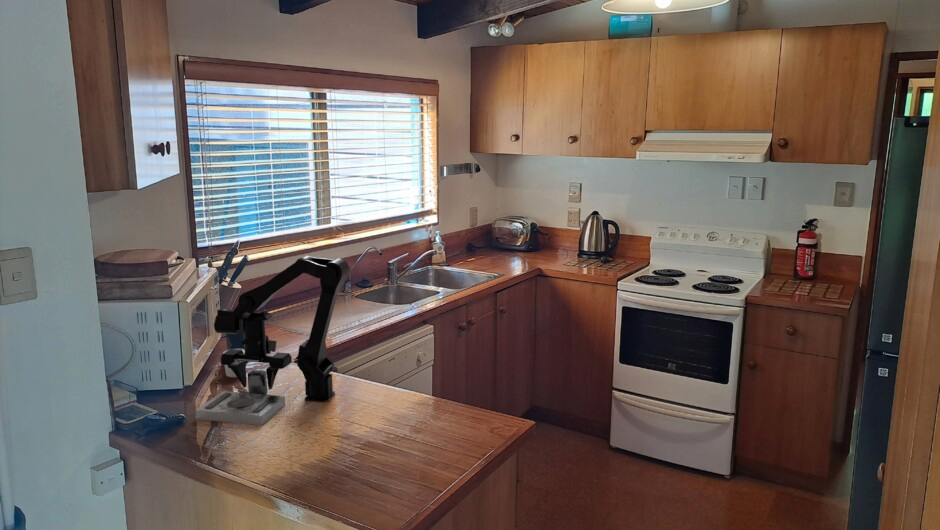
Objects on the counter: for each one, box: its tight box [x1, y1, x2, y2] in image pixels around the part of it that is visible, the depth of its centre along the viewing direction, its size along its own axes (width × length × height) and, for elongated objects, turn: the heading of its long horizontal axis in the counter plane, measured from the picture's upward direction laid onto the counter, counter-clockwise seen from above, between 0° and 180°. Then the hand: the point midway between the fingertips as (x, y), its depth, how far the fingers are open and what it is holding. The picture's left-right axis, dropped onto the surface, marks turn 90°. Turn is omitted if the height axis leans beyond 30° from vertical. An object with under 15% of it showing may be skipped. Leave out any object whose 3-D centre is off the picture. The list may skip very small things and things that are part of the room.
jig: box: [195, 390, 286, 426], centre depth 176 cm, size 18×13×3 cm
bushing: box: [246, 369, 268, 395], centre depth 188 cm, size 5×5×6 cm
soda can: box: [225, 330, 245, 351], centre depth 214 cm, size 7×7×12 cm
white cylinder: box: [222, 349, 245, 378], centre depth 203 cm, size 7×7×7 cm
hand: (257, 388), depth 189 cm, fingers open, 7 cm apart
